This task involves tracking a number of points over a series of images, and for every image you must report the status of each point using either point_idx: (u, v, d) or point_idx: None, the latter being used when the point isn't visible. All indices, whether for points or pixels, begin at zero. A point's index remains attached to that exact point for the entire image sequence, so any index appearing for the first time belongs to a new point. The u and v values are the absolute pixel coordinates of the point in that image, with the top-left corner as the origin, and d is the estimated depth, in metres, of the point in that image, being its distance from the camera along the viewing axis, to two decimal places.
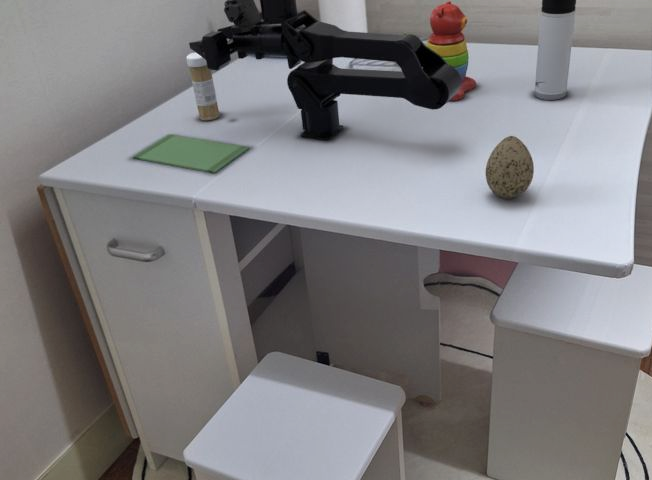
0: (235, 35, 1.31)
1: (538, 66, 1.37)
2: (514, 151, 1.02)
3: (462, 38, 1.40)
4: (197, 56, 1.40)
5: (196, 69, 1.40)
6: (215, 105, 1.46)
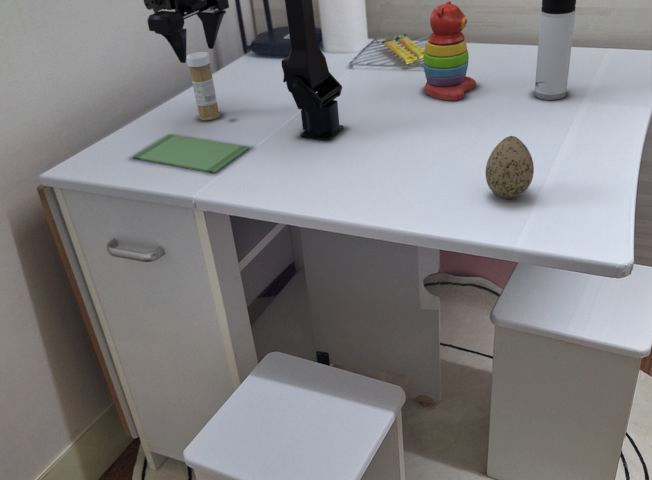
0: (174, 7, 1.34)
1: (538, 66, 1.37)
2: (514, 151, 1.02)
3: (462, 38, 1.40)
4: (197, 56, 1.40)
5: (196, 69, 1.40)
6: (215, 105, 1.46)
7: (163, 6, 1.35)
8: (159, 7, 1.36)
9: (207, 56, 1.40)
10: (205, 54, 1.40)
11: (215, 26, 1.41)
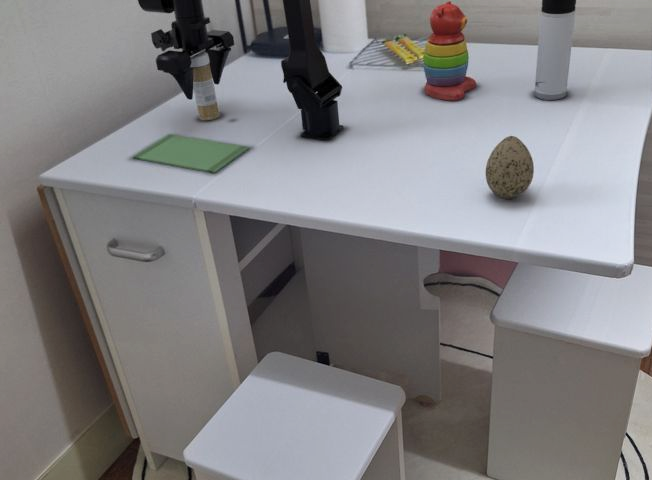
0: (181, 47, 1.39)
1: (538, 66, 1.37)
2: (514, 151, 1.02)
3: (462, 38, 1.40)
4: (196, 56, 1.40)
5: (196, 69, 1.40)
6: (215, 105, 1.46)
7: (171, 45, 1.40)
8: (167, 46, 1.40)
9: (206, 56, 1.40)
10: (204, 54, 1.40)
11: (220, 63, 1.45)
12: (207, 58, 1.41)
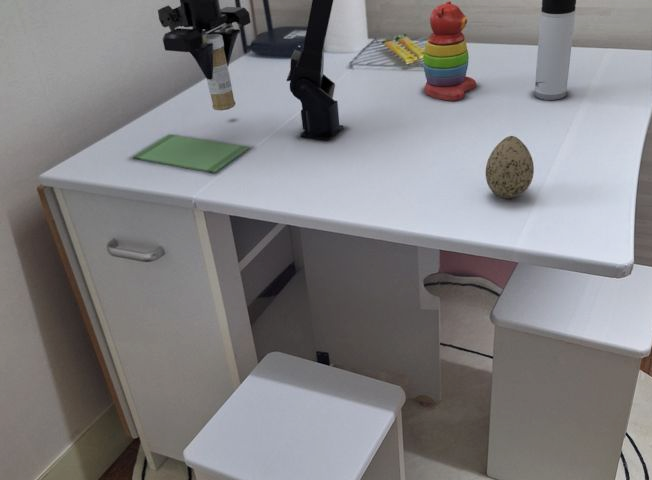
0: (191, 24, 1.24)
1: (538, 66, 1.37)
2: (514, 151, 1.02)
3: (462, 38, 1.40)
4: (209, 38, 1.26)
5: None
6: (230, 93, 1.32)
7: (180, 23, 1.26)
8: (175, 24, 1.26)
9: (220, 38, 1.26)
10: (218, 36, 1.26)
11: (228, 46, 1.29)
12: (221, 41, 1.26)
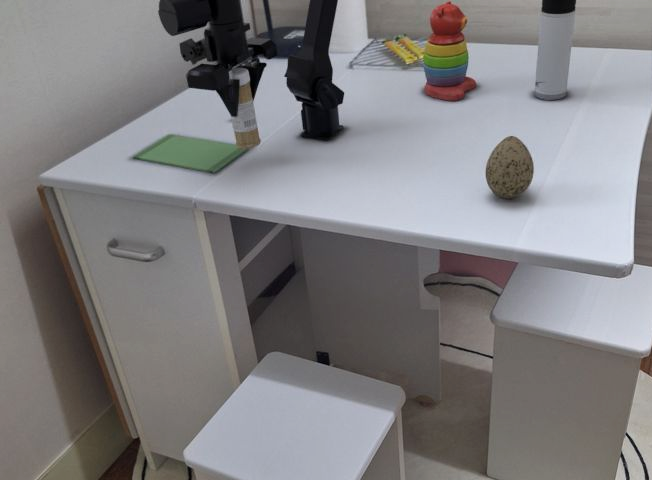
0: (216, 59, 1.15)
1: (538, 66, 1.37)
2: (514, 150, 1.02)
3: (462, 38, 1.40)
4: (235, 73, 1.16)
5: None
6: (255, 131, 1.23)
7: (203, 57, 1.16)
8: (198, 58, 1.17)
9: (247, 73, 1.17)
10: (244, 71, 1.17)
11: (254, 81, 1.20)
12: (247, 76, 1.17)
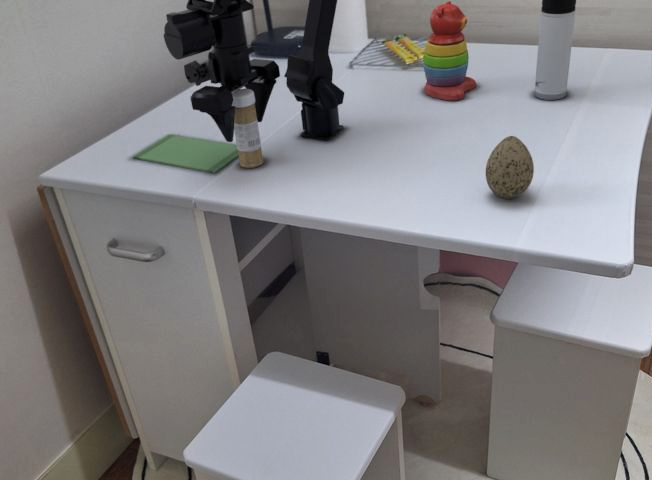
0: (219, 81, 1.17)
1: (538, 66, 1.37)
2: (514, 151, 1.02)
3: (462, 38, 1.40)
4: (241, 95, 1.18)
5: (239, 109, 1.19)
6: (259, 150, 1.25)
7: (207, 79, 1.18)
8: (202, 80, 1.19)
9: (252, 95, 1.19)
10: (250, 92, 1.19)
11: (264, 97, 1.24)
12: (253, 97, 1.19)
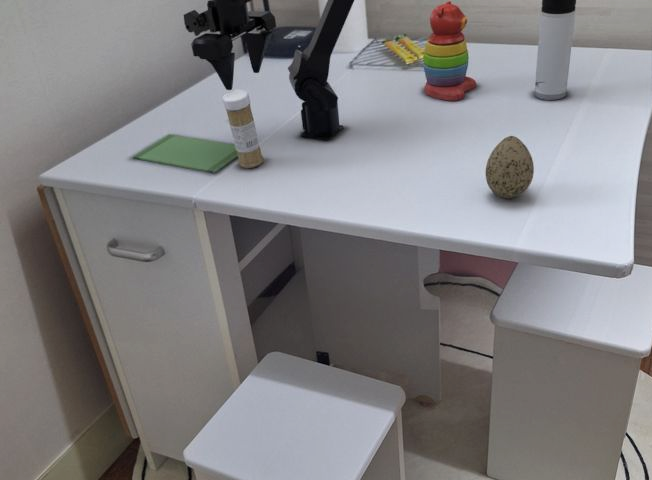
0: (219, 29, 1.20)
1: (538, 66, 1.37)
2: (514, 150, 1.02)
3: (462, 38, 1.40)
4: (235, 97, 1.18)
5: (235, 112, 1.18)
6: (258, 150, 1.24)
7: (206, 28, 1.22)
8: (201, 29, 1.22)
9: (247, 96, 1.18)
10: (244, 94, 1.18)
11: (261, 48, 1.27)
12: (247, 98, 1.18)
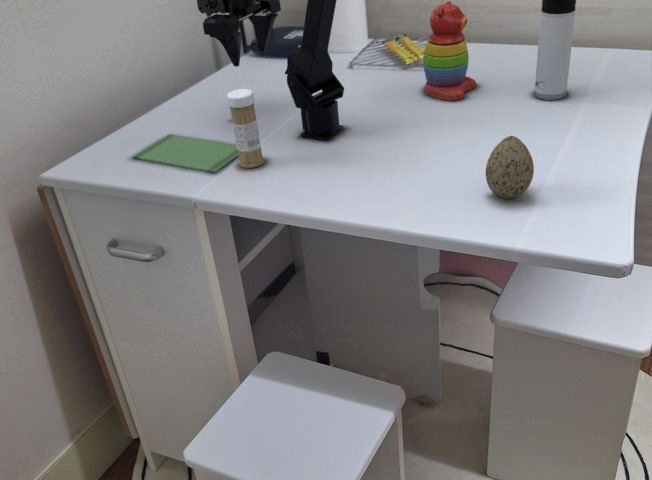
0: (228, 11, 1.33)
1: (538, 66, 1.37)
2: (514, 150, 1.02)
3: (462, 38, 1.40)
4: (240, 95, 1.18)
5: (238, 110, 1.19)
6: (259, 150, 1.25)
7: (217, 10, 1.34)
8: (212, 11, 1.35)
9: (251, 95, 1.19)
10: (249, 92, 1.19)
11: (267, 29, 1.40)
12: (252, 97, 1.19)
